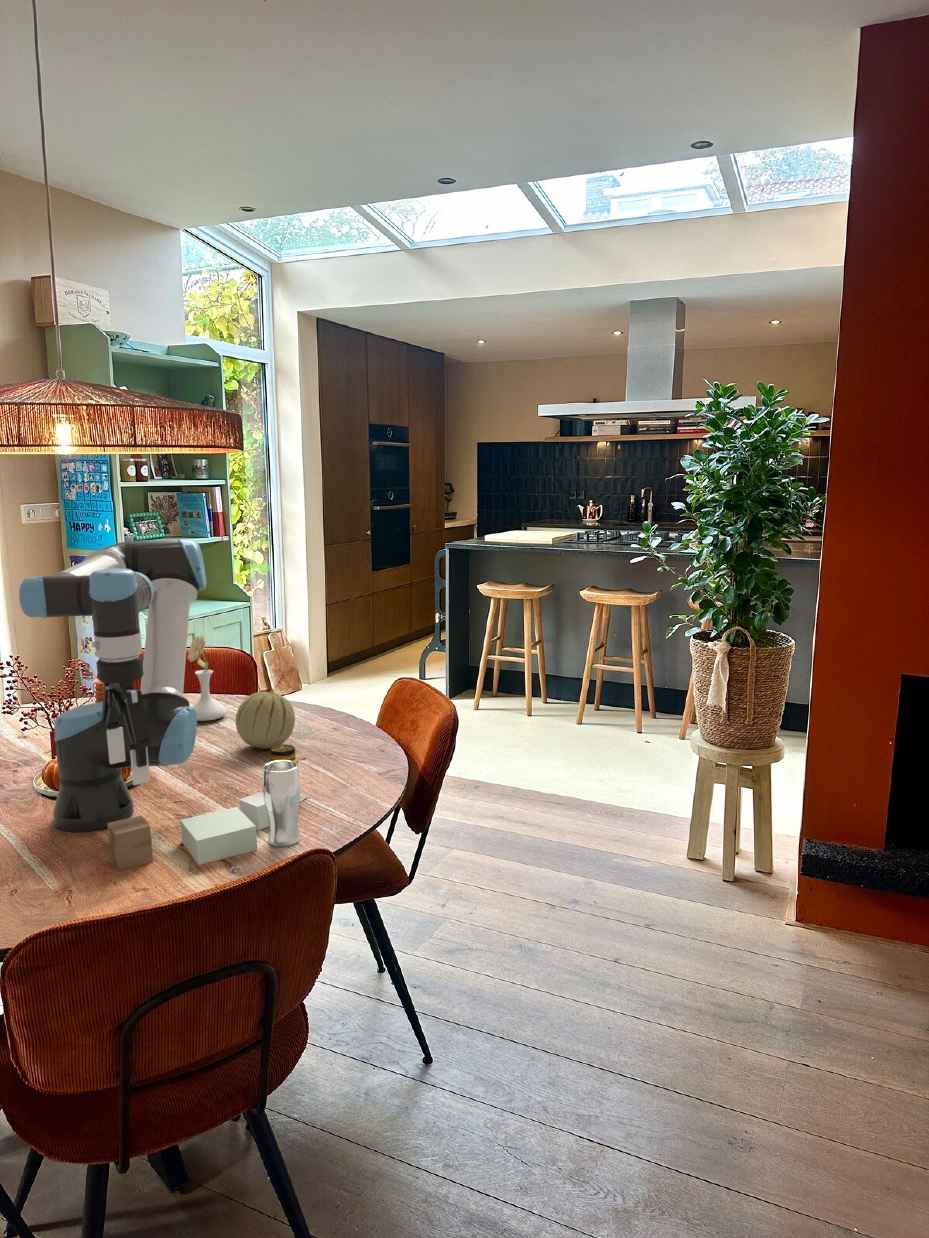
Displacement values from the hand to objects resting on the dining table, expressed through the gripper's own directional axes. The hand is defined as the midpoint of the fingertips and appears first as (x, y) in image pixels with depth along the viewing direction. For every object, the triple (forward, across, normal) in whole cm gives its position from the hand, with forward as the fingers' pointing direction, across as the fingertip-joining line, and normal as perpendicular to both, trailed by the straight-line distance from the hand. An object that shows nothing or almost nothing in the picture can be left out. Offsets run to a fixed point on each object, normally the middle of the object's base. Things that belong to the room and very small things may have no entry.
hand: (129, 772), depth 152 cm
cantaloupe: (+17, -43, +46) cm, 66 cm away
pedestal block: (+17, +4, +14) cm, 23 cm away
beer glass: (+17, +10, +25) cm, 32 cm away
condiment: (+17, -8, +34) cm, 39 cm away
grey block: (+17, -1, +25) cm, 30 cm away
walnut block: (+17, 0, -1) cm, 17 cm away
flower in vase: (+17, -77, +44) cm, 91 cm away
